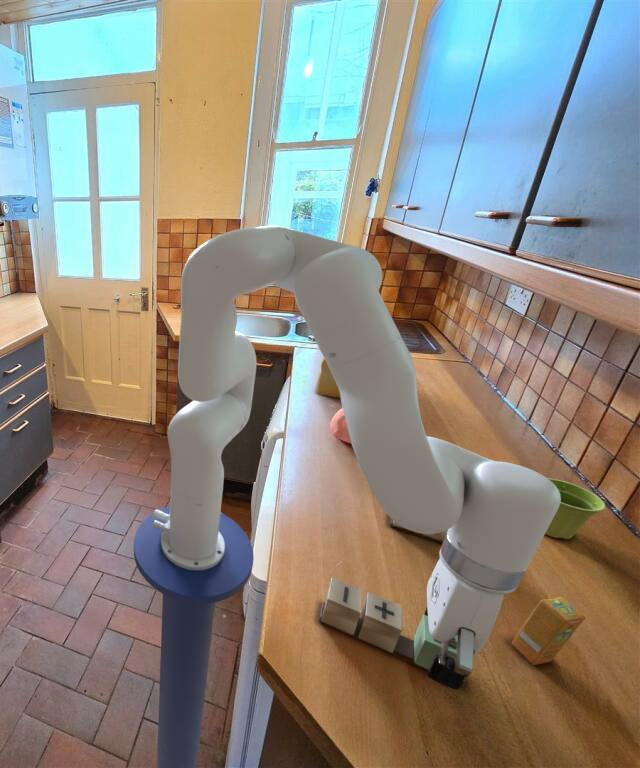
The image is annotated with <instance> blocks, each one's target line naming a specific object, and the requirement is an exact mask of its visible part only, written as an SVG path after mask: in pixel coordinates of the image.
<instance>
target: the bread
mask: <svg viewBox="0 0 640 768" xmlns="http://www.w3.org/2000/svg"><path fill="white" fill-rule="evenodd" d="M316 386H317V387H316V393H317V394H318V395H321V396H327V397H332V398H338V399H341V397H340V392H339V388H338V386H337V383H336V381H335V379H334V377H333V375H332V373H331V371H330V369H329V367H328V364H327V362H326V360H325V359H324V357H322V360H321V363H320V373H319V376H318V379H317V385H316Z"/></svg>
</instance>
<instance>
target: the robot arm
mask: <svg viewBox="0 0 640 768" xmlns="http://www.w3.org/2000/svg"><path fill="white" fill-rule="evenodd" d="M382 281H383V271H382V267H381V265H380V262H379V261H378V259H377V258H376V257H375V255H373V254H372V253H371V252H370V251H368V250H366V249H364V248H361V247H358V246H355V245H351V244H347V243H343V242H340V241H337V240H332V239H329V238H326V237H325V238H324V237H321V236H317V235H315V234H311V233H306V232H304V231H300V230H298V229H293V228H290V227H286V226H281V225H263V226H257V227H254V226H253V227H252V226H251V227H246V228H244V227H243V228H238V229H234V230H231V231H227V232H224V233H221V234H218V235H216V236H214V237H212V238H210V239H209V240H206V241H205V242H204V243H202V244H201V245H199V246H198V247H197V248H196V249H195V250H194V251H193V252H192V253H191V254H190V256H189V257H188V259H187V261H186V262H185V265H184V267H183V269H182V273H181V277H180V325H179V340H178V341H179V342H178V343H179V345H178V363H177V365H178V366H177V378H178V383H179V384H178V385H179V388H180V390H181V392H182V393H183V394H184V396H185V397H187V398H188V399H189V400H191V401H190V403H188V404H186V405H185V406H184V407H182V408H180V410H179V411H177V413H176V414H175V415H174V416H173V417H172V419H171V420H170V422H169V425H168V428H167V441H168V447H169V452H170V463H171V465H170V469H171V470H170V473H171V474H170V499H169V506H170V514H169V515H168V514H165V513H164V512H162V511H160V509H156V508H155V510H154V511H153V512H152V513H153V518H154V519H157V520H159V521H163V522H165V524H163V523H161V522H159V521H157V520H155V521H154V522H153V527H156V528H158V529H161V530H163V533H162V536H161V547H162V550H163V552H164V554H165V556H166V557H167V558H168V559H169V560H170V561H171V562H172V563H174V564H175V565H177V566H179V567H181V568H185V569H188V570H205V569H209V568H212V567H214V566H215V565H217V564H218V563H219V562H220V561H221V559H222V558H223V556H224V552H225V542H224V539H223V537H222V535H221V534H220V532H219V522H220V513H222V511H221V510H222V501H223V492H224V483H225V482H224V480H225V468H224V464H223V461H222V454H223V451H224V449H225V447H226V446H227V445H228V444H229V443H231V441H232V440H233V439H234V438H235V437H236V436H237V435H238V434H239V433H240V432H241V431H242V430H243V429H244V428H245V427H246V425H247V424H248V422H249V420H250V416H251V411H252V404H253V397H254V389H255V383H256V382H255V381H256V375H257V374H256V373H257V355H256V351H255V348H254V345H253V344H252V342H251V341H250V339H248V337H247V336H245V334H243V333H241V332H239V331H237V325H238V314H237V313H238V312H237V307H236V304H235V301H236V299H237V298H238V297H240V296H244V295H246V294H249V293H250V294H251V293H254V292H257V291H259V290H263V289H265V288H268V287H270V286H273V287H277V288H280V289H282V290H285V291H288V292H291V293H293V294H294V299H295V303H296V305H297V308H298V310H299V312H300V314H301V316H302V318H303V319H304V321H305V324H306V325H307V328H308V330H309V331H310V333H311V335H312V338H313V339H314V341H315V343H316V345H317V346H318V349H319V351H320V352H321V354H322V356H323V357H324V359H325V360H326V362H327V364H328V367H329V369H330V371H331V373H332V375H333V377H334V379H335V381H336V383H337V386H338V388H339V392H340V397H341V398H340V402H341V403H340V404H341V409H342V408H343V412H344V415H345V419H346V423H347V427H348V431H349V435H350V439H351V443H352V445H351V446H352V449H353V452H354V455H355V458H356V460H357V463H358V465H359V467H360V470H361V472H362V474H363V475H364V477H365V480H366V482H367V484H368V487H369V488H370V489H371V492H372V494H373V495H374V498H375V499H376V501H377V503H378V504H379V506H380V507H381V508H382V510H383V511H384V512H385V514H386V515H387V516H388V517H391V518H392V519H393V520H394V521H395V522H396V523H398V524H399V525H401V526H402V527H404V528H406V529H408V530H411V531H414V532H417V533H422V534H436V533H440V532H443V531H446V530H448V531H447V534H446V536H445V539H444V541H443V543H441V546H440V549H439V552H438V553H439V559H438V560H437V562H436V564H435V566H434V568H433V570H432V573H431V574H430V577H429V579H428V582H427V585H426V608H425V610H424V615H426V616H428V623H429V631H430V634H431V636H432V637H433V638H434V639H435V640H438V641H440V642H441V648H440V654H439V655H435V657H434V659H433V662H432V664H431V666H430V668H429V670H428V671H427V677H428V678H429V679H430V680H432V681H434V682H437V683H439V684H441V685H443V686H444V687H448V688H450V689H452V690H454V691H459V689H460V688H461V687H462V686H461V684H462V682H463V680H464V681H465V678H467V677H468V676H470V675H471V674H472V673H473V670H474V656H476V655H478V654H479V653H480V652H482V650H483V648H484V647H485V645H486V643H487V641H488V639H489V637H490V635H491V633H492V630H493V628H494V626H495V623H496V621H497V619H498V615H499V612H500V610H501V607H502V603H503V601H504V597H505V595H506V594H510V593H514V592H515V591H516V590H517V589H518V587H519V585H520V583H521V580H522V579H523V578H524V575H525V573H526V572H527V569H528V567H529V565H530V564H531V562H532V560H533V558H534V556H535V554H536V552H537V550H538V549H539V546H540V544H541V542H542V540H543V539H544V536H545V535H546V534H545V533H546V531H547V529H548V527H549V525H550V523H551V522H552V520H553V518H554V516H555V514H556V512H557V510H558V508H559V505H560V503H561V496H560V492H559V490H558V488H557V487H556V486H555V485H554V484H553V483H552V482H551V481H550V480H549V479H550V478H549V479H547V478H548V477H546V476H544V475H543V474H541V473H539V472H537V471H535V470H533V469H531V468H529V467H525V466H522V465H519V464H515V463H511V462H507V461H497V460H493V459H490V458H487V457H486V456H482V455H479V454H477V453H475V452H473V451H470V450H468V449H465V448H464V447H461V446H458V445H456V444H454V443H451V442H449V441H446V440H444V439H442V438H441V439H440V438H437V437H433V436H427V434H426V431H425V428H424V424H423V420H422V416H421V412H420V405H419V398H418V397H419V395H418V379H417V370H416V365H415V363H414V359H413V356H412V354H411V352H410V350H409V349H408V346H407V345H406V343H405V341H404V339H403V337H402V334H401V333H400V330H399V329H398V327H397V325H396V323H395V321H394V318H393V317H392V316H391V313H390V312H389V310H388V307H387V305H386V303H385V301H384V298H383V296H382V295H381V293H380V292H379V290H380V289H381V285H382ZM323 357H322V358H323ZM456 635H458V642H456V641H454V640H451V639H452V638H454V637H456ZM449 645H451V646H453V647H455V648H457V656H456V658H455V659H453V658H451V657H449V656H447V655H448V648H449Z"/></svg>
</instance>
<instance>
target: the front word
mask: <svg viewBox="0 0 640 768" xmlns="http://www.w3.org/2000/svg"><path fill="white" fill-rule="evenodd" d="M363 596H364V590H363V589H361V588H359V587H356V586H353V585H351V584H348V583H347V582H344V581H342V580H339V579H337V578H333V577H331V578H330V581H329V585H328V589H327V593H326V597H325V600H324V601H323V602H322V604H321V609H320V613H319V617H318V622H320V623H321V624H324V625H325V626H328V627H330V628H333V629H334V630H337V631H339V632H342V633H343V634H346V635H348V636H350V637H352V638H354V639H357V640H359V641H361V642H364V643H366V644H368V645H370V646H372V647H374V648H377V649H379V650H381V651H383V652H386V653H388V654H389V655H392V656H394V657H396V658H399V659H401V660H403V661H405V662H407V663H409V664H411V665H414V666H417V667H418V668H420V669H423V670H425V671H427V672H428V669H426V668H424V667H422V666H419V665H417V664H415V661H414V639H411V638H409V637H406V636H404V635H401V634H402V631H403V606H402V605H401V604H399V603H396V602H393V601H391V600H388V599H386V598H384V597H381V596H379V595H376V594H374V593H371V592H369V591H368V592H367V593H366V596H365V600H364V601H363ZM465 681H466V680H465V679H464V680H463V682H462V684H461V686H460V687H463V686H464V684H465Z"/></svg>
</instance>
